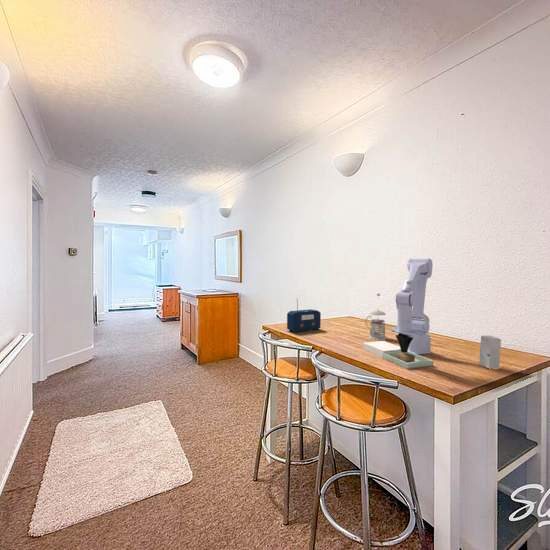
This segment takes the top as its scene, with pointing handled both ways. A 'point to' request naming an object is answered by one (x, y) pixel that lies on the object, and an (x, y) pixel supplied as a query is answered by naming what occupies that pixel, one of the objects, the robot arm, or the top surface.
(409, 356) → the walnut tile
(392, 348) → the board
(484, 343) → the skincare box
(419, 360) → the tray
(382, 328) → the french press
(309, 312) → the radio
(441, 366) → the top surface
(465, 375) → the top surface
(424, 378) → the top surface
